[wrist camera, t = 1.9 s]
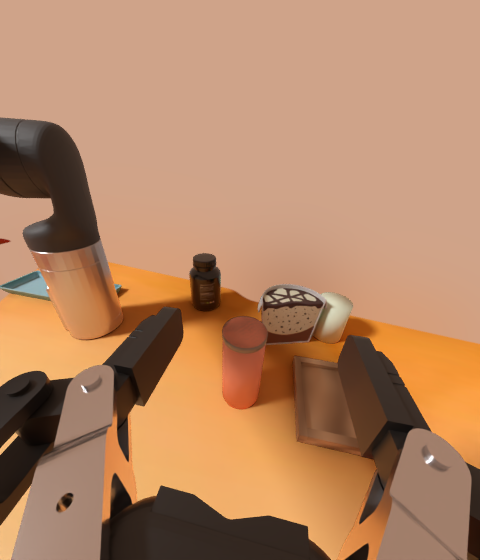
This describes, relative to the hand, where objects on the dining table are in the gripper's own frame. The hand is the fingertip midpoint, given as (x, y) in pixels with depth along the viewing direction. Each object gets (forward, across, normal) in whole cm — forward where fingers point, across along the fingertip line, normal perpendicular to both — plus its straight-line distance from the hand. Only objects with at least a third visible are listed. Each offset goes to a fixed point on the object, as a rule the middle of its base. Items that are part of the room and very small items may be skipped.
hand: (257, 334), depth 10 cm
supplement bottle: (+31, +14, +22) cm, 41 cm away
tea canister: (+11, +2, +22) cm, 25 cm away
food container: (+25, -4, +22) cm, 34 cm away
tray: (+12, -12, +22) cm, 28 cm away
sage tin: (+27, -13, +22) cm, 38 cm away
